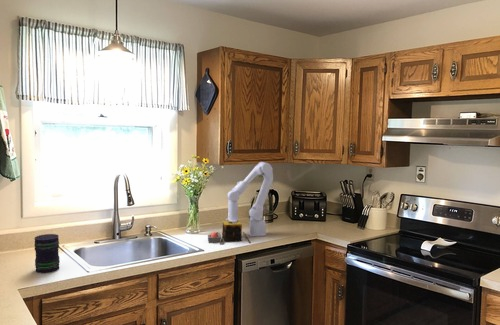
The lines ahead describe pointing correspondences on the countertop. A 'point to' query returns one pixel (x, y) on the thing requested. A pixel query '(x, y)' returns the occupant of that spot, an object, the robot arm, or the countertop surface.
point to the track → (223, 242)
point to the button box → (214, 239)
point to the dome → (214, 234)
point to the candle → (232, 231)
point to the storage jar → (47, 253)
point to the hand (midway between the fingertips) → (232, 233)
